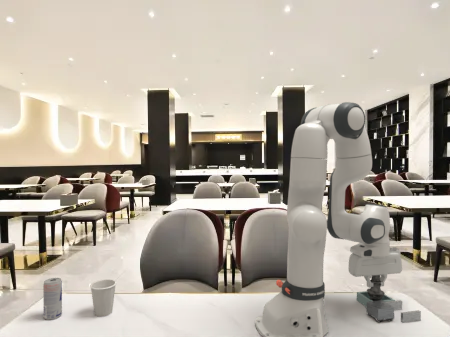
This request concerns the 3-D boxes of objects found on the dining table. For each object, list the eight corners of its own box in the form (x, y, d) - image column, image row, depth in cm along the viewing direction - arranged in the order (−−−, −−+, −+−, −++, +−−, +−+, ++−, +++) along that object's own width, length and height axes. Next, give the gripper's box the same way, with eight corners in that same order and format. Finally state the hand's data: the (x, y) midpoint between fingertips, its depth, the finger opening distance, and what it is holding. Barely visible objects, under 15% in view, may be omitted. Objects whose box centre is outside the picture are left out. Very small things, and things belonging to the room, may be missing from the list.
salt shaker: (386, 305, 110) (387, 271, 110) (368, 304, 111) (369, 270, 111) (381, 298, 116) (382, 266, 116) (364, 297, 117) (365, 265, 117)
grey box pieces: (381, 325, 99) (381, 311, 99) (363, 312, 107) (363, 299, 107) (420, 320, 102) (420, 306, 102) (400, 308, 111) (400, 295, 111)
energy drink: (62, 311, 107) (62, 276, 107) (60, 318, 102) (60, 282, 102) (45, 314, 105) (45, 278, 105) (42, 321, 100) (42, 284, 100)
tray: (373, 311, 108) (373, 302, 108) (356, 300, 117) (356, 292, 117) (395, 308, 110) (395, 300, 110) (377, 298, 119) (377, 290, 119)
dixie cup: (86, 312, 106) (86, 283, 106) (109, 304, 112) (109, 277, 112) (96, 321, 100) (96, 290, 100) (120, 312, 106) (120, 283, 106)
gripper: (393, 244, 119) (393, 281, 119) (346, 247, 114) (345, 285, 114) (406, 249, 113) (406, 287, 113) (357, 252, 108) (356, 292, 108)
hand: (375, 286), depth 114 cm, fingers closed on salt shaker, 3 cm apart
